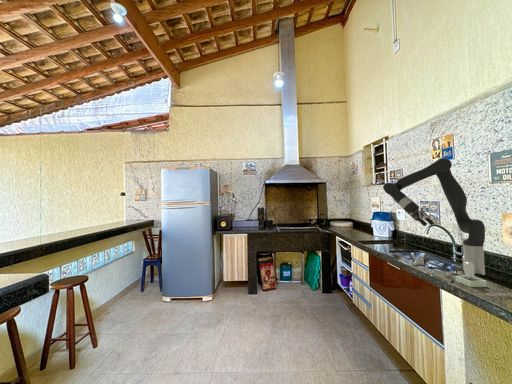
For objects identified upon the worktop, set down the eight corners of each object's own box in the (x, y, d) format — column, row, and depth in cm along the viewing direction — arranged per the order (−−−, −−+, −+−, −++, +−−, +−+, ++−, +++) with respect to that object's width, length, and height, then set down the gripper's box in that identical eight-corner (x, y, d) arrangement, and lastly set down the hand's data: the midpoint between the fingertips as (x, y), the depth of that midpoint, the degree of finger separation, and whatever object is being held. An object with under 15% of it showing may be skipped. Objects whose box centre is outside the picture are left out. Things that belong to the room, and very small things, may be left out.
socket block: (445, 278, 135) (444, 272, 135) (457, 278, 135) (457, 272, 135) (456, 283, 127) (455, 277, 127) (469, 282, 127) (469, 276, 127)
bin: (455, 283, 127) (455, 275, 127) (471, 283, 127) (471, 275, 127) (470, 289, 118) (469, 281, 118) (487, 289, 118) (486, 281, 118)
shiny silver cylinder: (462, 282, 125) (460, 261, 126) (471, 282, 125) (469, 261, 125) (469, 285, 120) (467, 263, 121) (478, 285, 120) (476, 263, 121)
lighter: (422, 264, 165) (421, 252, 165) (423, 264, 163) (422, 253, 164) (411, 263, 166) (410, 252, 167) (412, 264, 165) (411, 253, 165)
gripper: (406, 201, 145) (428, 221, 134) (418, 201, 152) (440, 219, 141) (398, 209, 149) (418, 229, 139) (410, 209, 156) (430, 227, 146)
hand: (429, 224), depth 140 cm, fingers open, 8 cm apart
